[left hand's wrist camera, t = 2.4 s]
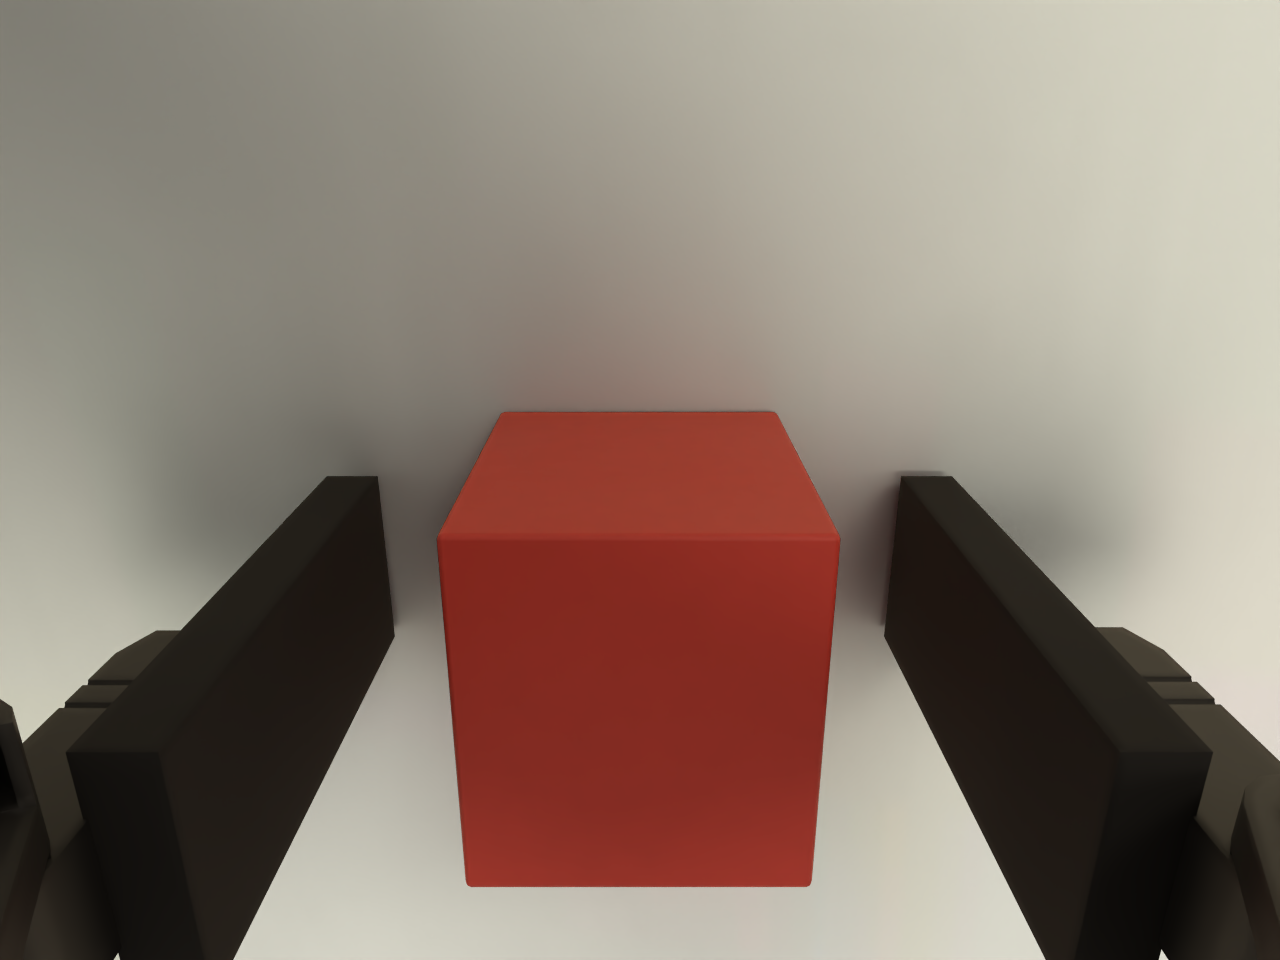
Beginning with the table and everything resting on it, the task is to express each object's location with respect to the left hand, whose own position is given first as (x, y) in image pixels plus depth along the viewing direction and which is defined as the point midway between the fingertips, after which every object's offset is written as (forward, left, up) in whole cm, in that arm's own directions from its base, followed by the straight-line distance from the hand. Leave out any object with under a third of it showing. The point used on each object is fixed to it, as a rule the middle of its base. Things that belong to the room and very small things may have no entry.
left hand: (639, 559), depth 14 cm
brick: (0, 0, 0) cm, 0 cm away
